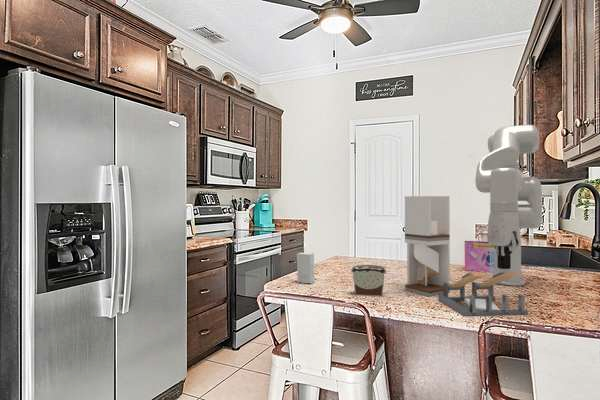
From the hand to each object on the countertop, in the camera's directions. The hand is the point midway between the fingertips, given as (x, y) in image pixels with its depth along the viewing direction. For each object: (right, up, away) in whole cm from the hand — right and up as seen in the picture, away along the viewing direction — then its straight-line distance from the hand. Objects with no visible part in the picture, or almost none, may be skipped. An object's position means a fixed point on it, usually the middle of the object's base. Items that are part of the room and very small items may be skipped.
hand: (504, 268), depth 119 cm
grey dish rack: (-5, -13, +4) cm, 14 cm away
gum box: (+27, -13, +63) cm, 70 cm away
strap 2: (0, -6, +5) cm, 7 cm away
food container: (-38, -13, +21) cm, 45 cm away
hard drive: (-5, -14, +4) cm, 15 cm away
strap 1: (-10, -6, +4) cm, 12 cm away
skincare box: (-60, -13, +39) cm, 73 cm away
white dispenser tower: (-16, -13, +24) cm, 31 cm away
